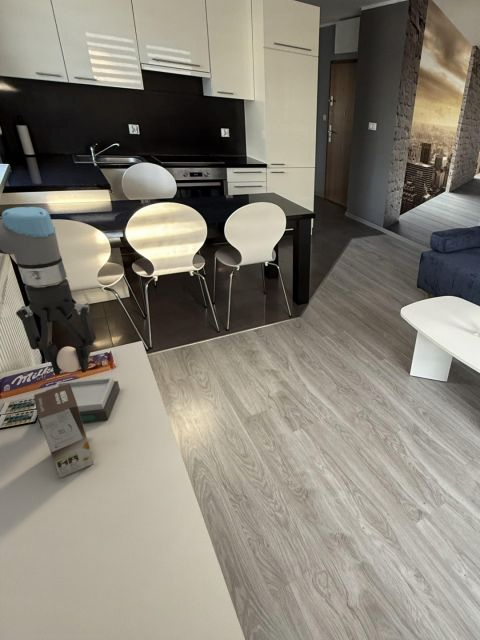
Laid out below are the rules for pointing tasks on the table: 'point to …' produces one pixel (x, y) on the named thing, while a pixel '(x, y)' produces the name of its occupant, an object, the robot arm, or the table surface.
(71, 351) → the egg
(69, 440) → the coffee box
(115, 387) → the kitchen scale
